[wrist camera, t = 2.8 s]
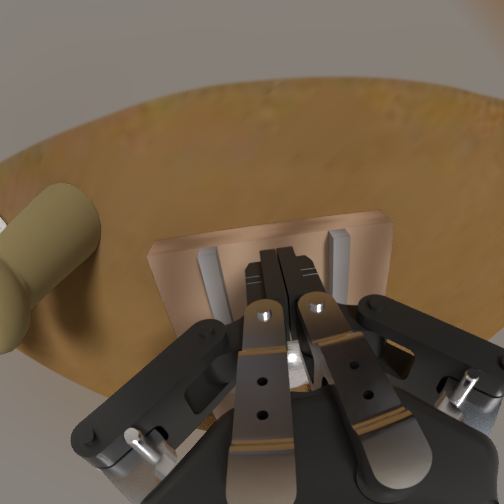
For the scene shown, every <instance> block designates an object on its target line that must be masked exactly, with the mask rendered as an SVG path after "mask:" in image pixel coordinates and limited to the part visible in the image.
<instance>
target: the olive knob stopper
mask: <svg viewBox="0 0 504 504" xmlns="http://www.w3.org/2000/svg"><path fill="white" fill-rule="evenodd" d="M100 237H101V224H100V220H99V216H98V212H97V211H96V209H95V207H94V205H93V203H92V201H91V200H90V199H89V198H88V197H87V196H86V194H85V193H84V192H83V191H82V190H80V189H78V188H77V187H75V186H73V185H71V184H66V183H56V184H51V185H50V186H48V187H47V188H45V189H44V190H43V191H42V192H41V193H40V194H38V195H37V196H36V197H35V198H34V199H33V200H32V201H31V202H30V203H29V204H28V205H27V206H26V207H25V208H24V209H23V210H22V211H21V212H20V213H19V214H18V215H17V216H16V217H15V218H14V219H13V220H12V221H11V222H10V223H9V224H8V225H7V226H6V228H5V229H4V230H3V231H2V232H1V233H0V355H1V354H5V353H8V352H11V351H13V350H14V349H15V348H16V347H18V346H19V344H20V343H21V341H22V340H23V338H24V337H25V335H26V333H27V332H28V328H29V325H30V322H31V310H32V309H33V308H34V307H35V306H36V305H37V304H38V303H39V302H40V301H41V300H42V299H43V298H44V297H45V296H46V295H47V294H48V293H49V292H50V291H51V290H52V289H53V288H55V287H56V286H57V285H58V284H59V283H60V282H61V281H62V280H63V279H64V278H65V277H67V276H68V275H69V274H70V273H71V272H72V271H73V270H74V269H76V268H77V267H78V266H79V265H80V264H81V263H82V262H84V261H85V260H86V259H87V258H88V257H89V256H90V255H91V254H92V253H93V252H94V251H95V250H96V249H97V246H98V244H99V241H100Z"/></svg>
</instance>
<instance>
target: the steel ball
mask: <svg viewBox="0 0 504 504" xmlns="http://www.w3.org/2000/svg"><path fill="white" fill-rule="evenodd" d="M287 345H288V353H287V358H288V370H289V382H290V389H291V388H296V387H299V386H301V385H303V384H305V383H306V382H308V378H307V375H306V372H305V369H304V366H303V363H302V360H301V357H300V351H299V342H298V340H293V341H292V339H291V334H290V341H287Z"/></svg>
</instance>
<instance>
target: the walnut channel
mask: <svg viewBox="0 0 504 504" xmlns="http://www.w3.org/2000/svg"><path fill="white" fill-rule="evenodd" d="M393 228H394V222H393V221H392V220H391V219H390V218H389V217H388V216H387V215H386V214H384V213H383V212H382V211H381V210H377V211H368V212H359V213H350V214H342V215H334V216H325V217H317V218H309V219H302V220H294V221H286V222H279V223H271V224H264V225H257V226H250V227H243V228H236V229H229V230H222V231H215V232H209V233H202V234H195V235H189V236H183V237H176V238H170V239H164V240H157V241H154V243H153V245H152V247H151V249H150V251H149V253H148V255H147V259H148V262H149V265H150V268H151V270H152V273H153V276H154V279H155V282H156V284H157V287H158V290H159V292H160V295H161V298H162V300H163V303H164V305H165V308H166V311H167V313H168V316H169V318H170V321H171V323H172V325H173V328H174V330H175V333H176V335H177V337H178V338H179V337H180V336H181V335H182V334H183V333H184V332H185V331H187V330H188V329H189V328H190V327H191V326H192V325H193V324H195V323H196V322H198V321H201V320H204V319H216V320H219V321H221V322H222V323H223V324H224V325H227V324H230V323H232V322H235V321H237V320H238V319H240V318H241V317H242V316H243V315H244V312H245V309H246V308H247V296H246V280H245V279H246V278H245V269H246V267H247V266H248V264H249V263H253V262H260V253H259V251H260V250H267V249H274V248H275V250H276V248H281V247H288V246H292V247H293V250H294V252H295V255H296V256H301V255H306V256H307V257H308V258H310V259H311V260H312V261H313V263H314V265H315V268H316V270H317V272H318V275H319V277H320V279H321V282H322V284H323V286H324V288H325V291H326V293H327V294H329V295H331V296H332V297H333V298H334V299H335V301H336V302H337V303H340V304H345V305H358V302H359V301H360V299H361V298H363V297H364V296H367V295H371V294H379V295H383V296H385V292H386V286H387V279H388V272H389V265H390V257H391V248H392V239H393ZM308 383H309V381H308V382H306V383H305V384H308ZM235 390H236V386H235V387H234V388H233V389H232V390H231V391H230V392H229V393H228V395H227V396H226V397H225V398H224V399H223V400H222V401H221V402H220V403H219V404H218V406H217V407H216V408H215V409H214V410H213V411H212V412H213V414H214V416H215V418H216V420H217V419H218V418H219V417H221V416H222V415H223V414H224V413H226V412H227V411H229V410H231V409H232V408H234V404H235Z"/></svg>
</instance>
